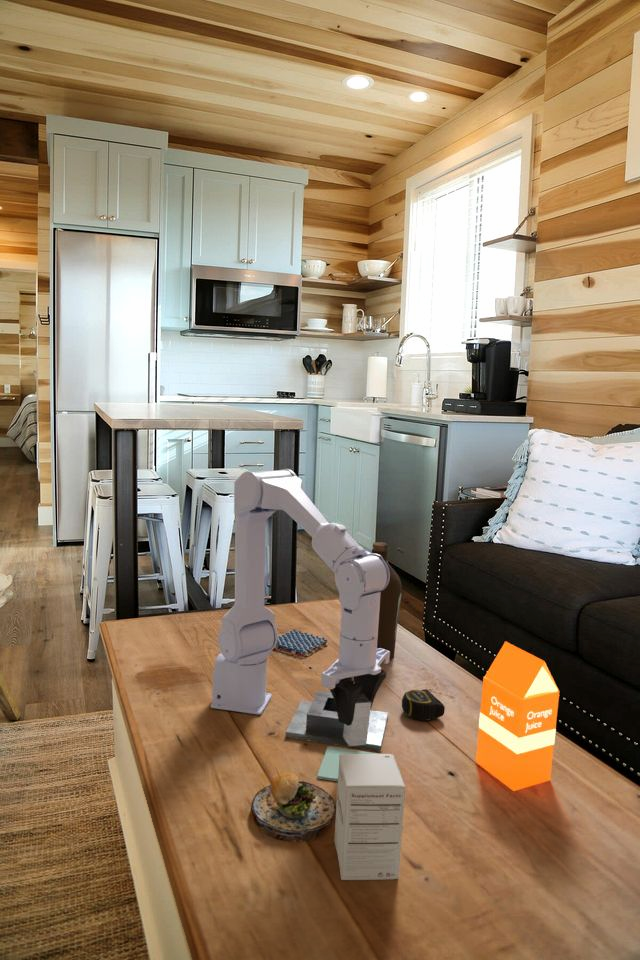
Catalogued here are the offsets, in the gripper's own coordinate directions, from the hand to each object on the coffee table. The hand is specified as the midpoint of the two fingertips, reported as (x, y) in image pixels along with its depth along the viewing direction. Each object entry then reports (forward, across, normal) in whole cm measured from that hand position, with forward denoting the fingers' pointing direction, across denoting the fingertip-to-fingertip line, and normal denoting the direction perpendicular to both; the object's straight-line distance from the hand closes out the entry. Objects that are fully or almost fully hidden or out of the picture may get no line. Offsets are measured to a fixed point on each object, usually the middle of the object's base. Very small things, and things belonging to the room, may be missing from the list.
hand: (353, 718), depth 109 cm
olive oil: (+8, +40, +25) cm, 48 cm away
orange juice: (+8, +18, -19) cm, 27 cm away
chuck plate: (+8, +8, +10) cm, 15 cm away
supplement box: (+8, -16, -15) cm, 23 cm away
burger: (+9, -15, -2) cm, 18 cm away
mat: (+8, 0, 0) cm, 8 cm away
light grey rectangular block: (+3, 0, 0) cm, 4 cm away
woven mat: (+9, +30, +40) cm, 51 cm away
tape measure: (+8, +24, +2) cm, 25 cm away
